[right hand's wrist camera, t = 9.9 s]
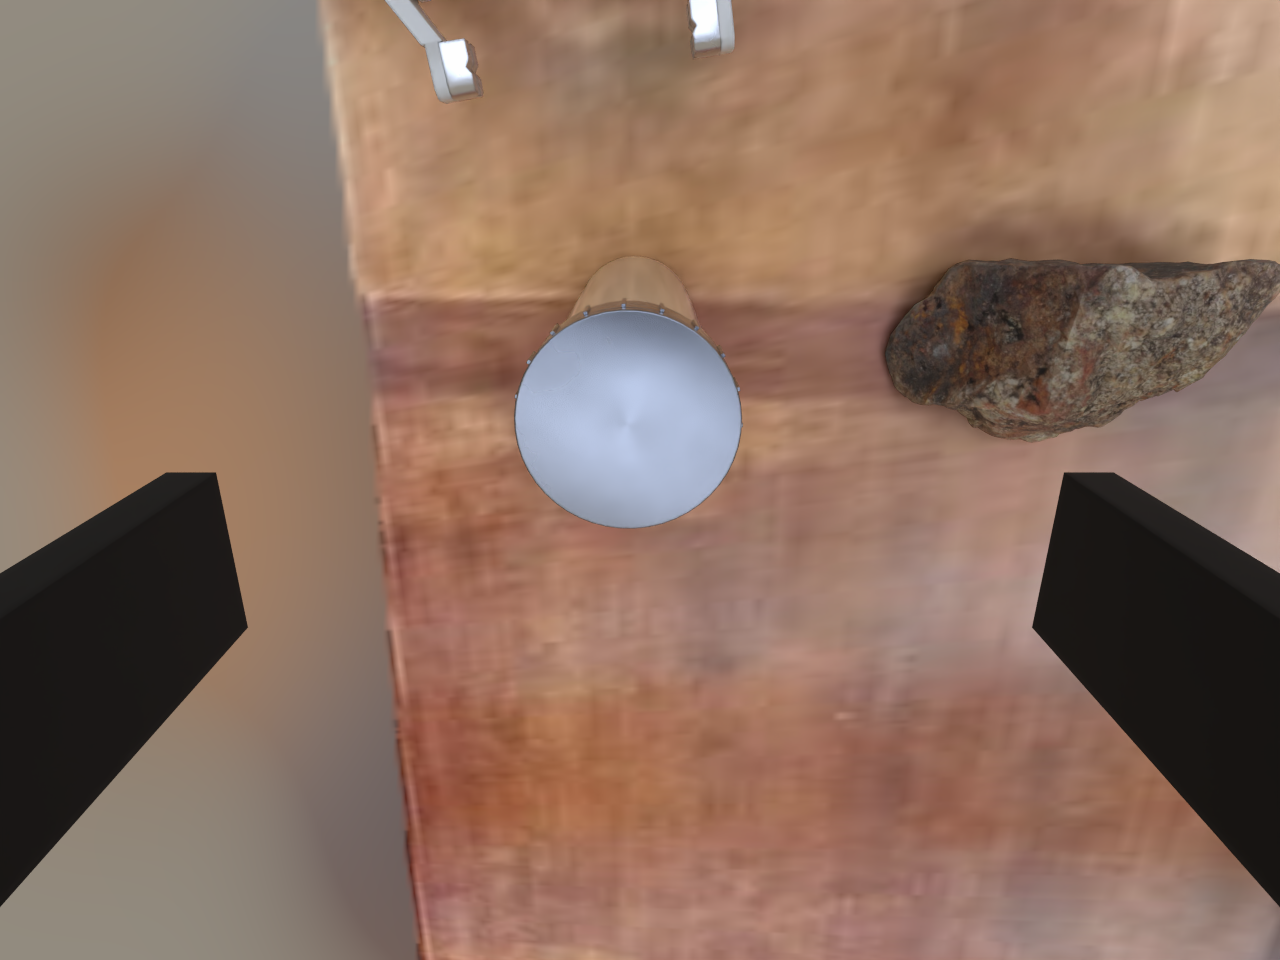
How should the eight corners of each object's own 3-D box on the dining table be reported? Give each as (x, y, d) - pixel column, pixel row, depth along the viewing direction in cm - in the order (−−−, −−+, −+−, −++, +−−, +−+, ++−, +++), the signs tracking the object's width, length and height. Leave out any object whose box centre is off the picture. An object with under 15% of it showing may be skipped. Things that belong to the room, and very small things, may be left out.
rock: (919, 205, 37) (864, 406, 41) (978, 207, 29) (902, 457, 32) (1223, 259, 37) (1141, 456, 40) (1368, 276, 29) (1250, 521, 32)
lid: (582, 539, 23) (577, 564, 22) (480, 357, 21) (467, 371, 20) (769, 456, 22) (779, 477, 21) (681, 258, 20) (684, 264, 19)
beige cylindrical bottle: (609, 385, 39) (583, 543, 22) (560, 286, 38) (488, 372, 20) (708, 339, 39) (762, 465, 21) (661, 236, 37) (678, 280, 19)
